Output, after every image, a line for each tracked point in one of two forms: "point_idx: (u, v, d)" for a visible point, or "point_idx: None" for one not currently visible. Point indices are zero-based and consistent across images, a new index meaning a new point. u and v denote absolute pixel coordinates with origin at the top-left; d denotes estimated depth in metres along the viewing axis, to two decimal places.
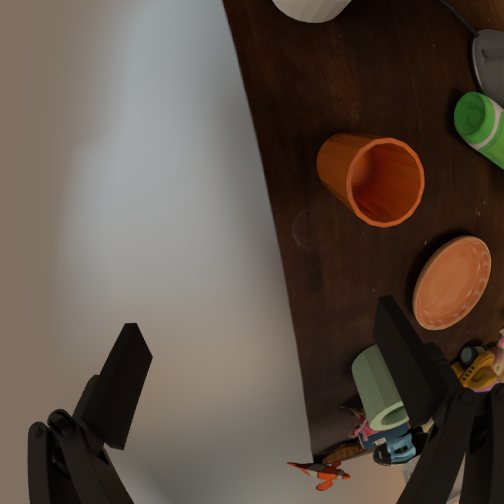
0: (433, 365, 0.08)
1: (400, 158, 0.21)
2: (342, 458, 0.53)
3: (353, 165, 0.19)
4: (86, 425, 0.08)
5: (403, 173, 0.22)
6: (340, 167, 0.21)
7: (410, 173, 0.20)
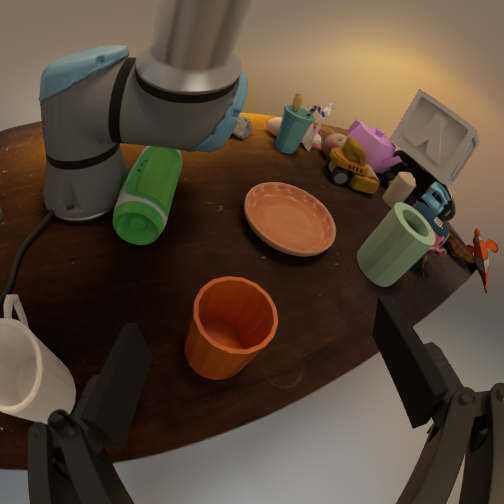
0: (433, 365, 0.08)
1: (204, 302, 0.26)
2: (464, 246, 0.58)
3: (230, 349, 0.20)
4: (86, 425, 0.08)
5: (217, 297, 0.27)
6: (231, 360, 0.22)
7: (217, 291, 0.25)
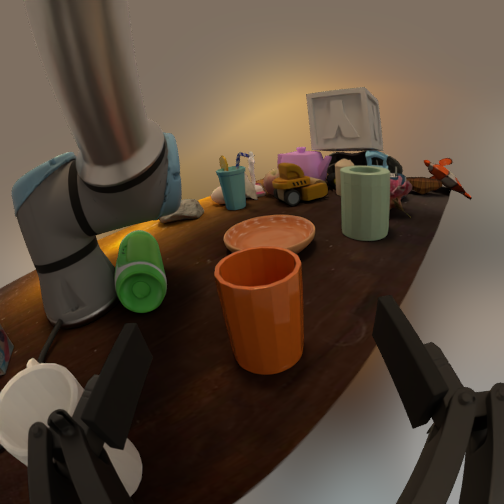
0: (433, 365, 0.08)
1: None
2: (425, 179, 0.65)
3: (268, 285, 0.20)
4: (86, 425, 0.08)
5: (237, 283, 0.27)
6: (279, 305, 0.21)
7: (233, 272, 0.26)
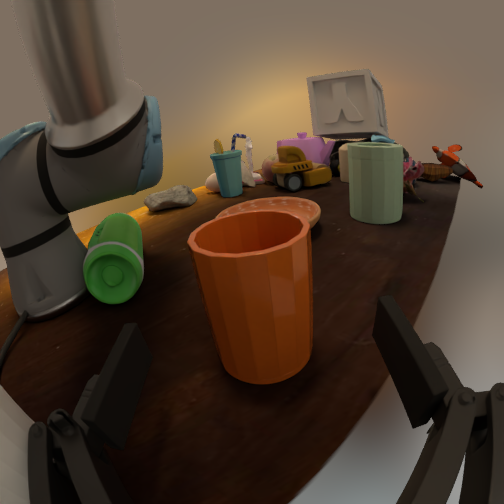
0: (433, 365, 0.08)
1: None
2: (435, 165, 0.59)
3: (263, 250, 0.14)
4: (86, 425, 0.08)
5: None
6: (279, 283, 0.14)
7: (217, 244, 0.19)
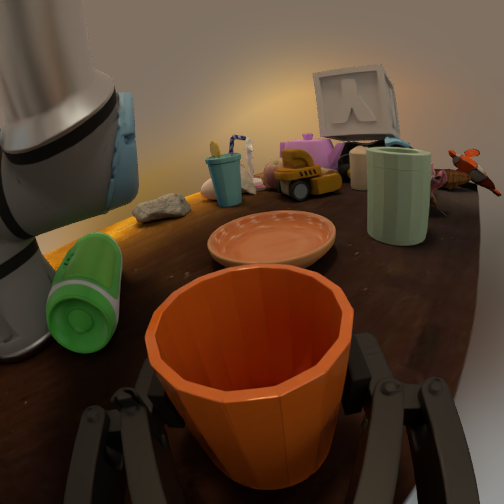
0: (359, 352, 0.10)
1: (188, 353, 0.12)
2: (453, 171, 0.51)
3: (275, 388, 0.06)
4: (150, 403, 0.10)
5: (210, 336, 0.13)
6: (299, 421, 0.07)
7: (199, 318, 0.12)
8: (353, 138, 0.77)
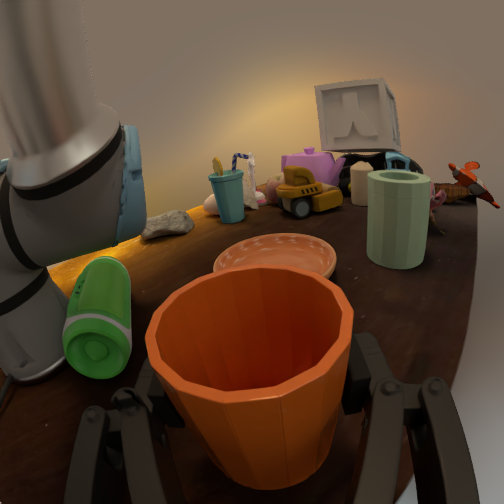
0: (359, 352, 0.10)
1: (189, 353, 0.12)
2: (452, 185, 0.53)
3: (275, 389, 0.06)
4: (150, 403, 0.10)
5: (210, 336, 0.13)
6: (299, 421, 0.07)
7: (199, 318, 0.12)
8: (354, 150, 0.79)
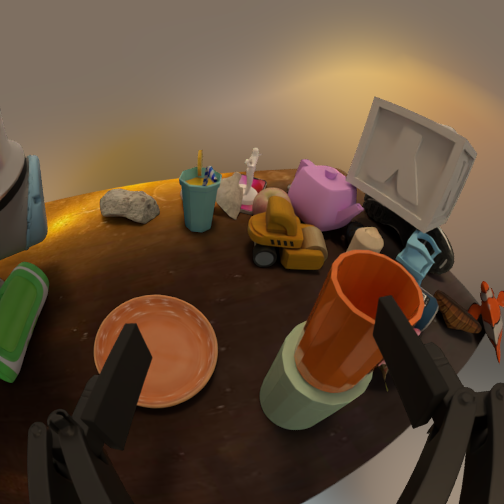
0: (433, 365, 0.08)
1: None
2: (464, 316, 0.39)
3: None
4: (86, 425, 0.08)
5: (339, 282, 0.21)
6: None
7: (343, 271, 0.20)
8: None
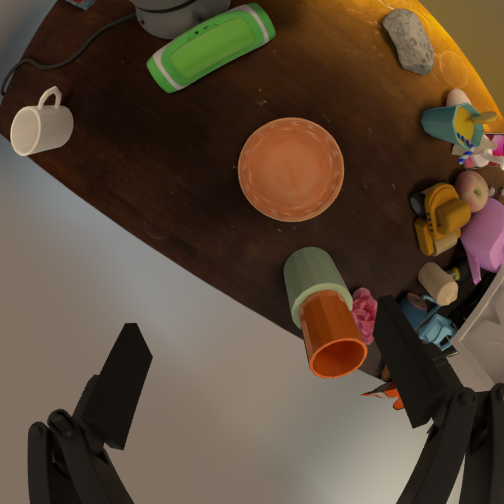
0: (433, 365, 0.08)
1: None
2: None
3: (312, 368, 0.31)
4: (86, 425, 0.08)
5: None
6: None
7: None
8: None
